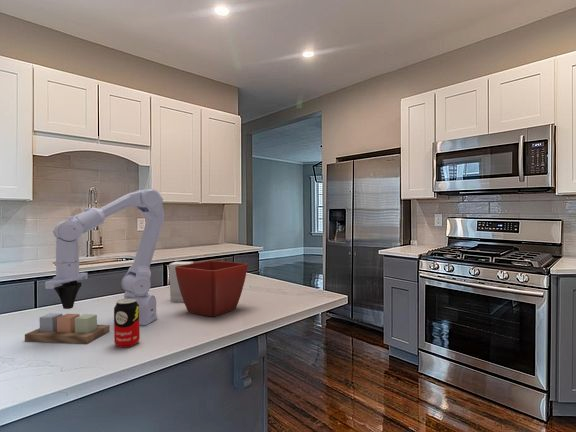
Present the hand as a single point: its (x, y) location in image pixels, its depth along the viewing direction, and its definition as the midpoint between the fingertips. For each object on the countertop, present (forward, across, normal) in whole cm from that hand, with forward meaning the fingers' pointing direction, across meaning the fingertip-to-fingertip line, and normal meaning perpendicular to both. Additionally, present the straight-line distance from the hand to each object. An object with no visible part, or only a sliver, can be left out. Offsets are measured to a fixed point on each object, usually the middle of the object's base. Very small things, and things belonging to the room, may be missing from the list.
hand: (68, 308), depth 104 cm
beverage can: (+8, +4, +21) cm, 23 cm away
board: (+8, 0, 0) cm, 8 cm away
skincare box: (+8, -43, +17) cm, 47 cm away
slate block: (+7, 0, -5) cm, 9 cm away
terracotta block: (+7, 0, 0) cm, 7 cm away
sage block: (+7, 0, +6) cm, 9 cm away
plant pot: (+8, -30, +34) cm, 46 cm away
